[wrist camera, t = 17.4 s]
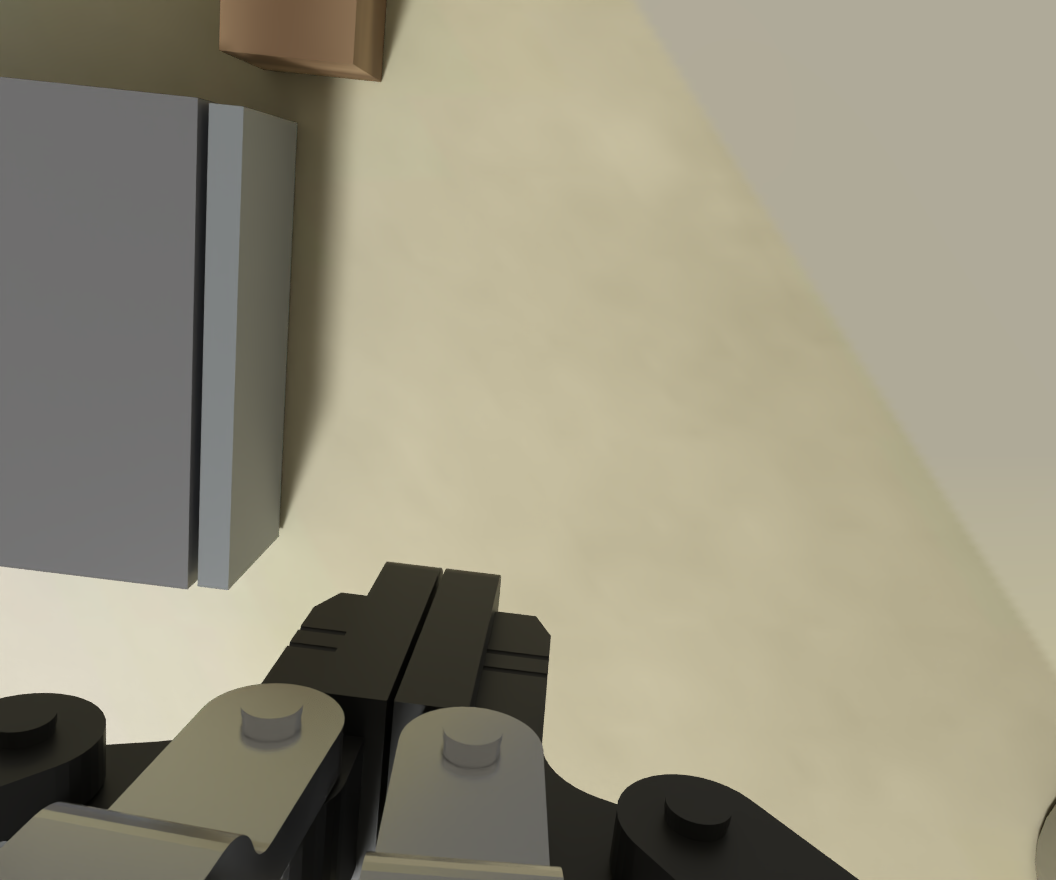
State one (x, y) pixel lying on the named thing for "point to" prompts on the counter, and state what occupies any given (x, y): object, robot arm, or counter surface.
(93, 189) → the housing
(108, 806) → the robot arm
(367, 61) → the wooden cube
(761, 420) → the counter surface
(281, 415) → the tray
